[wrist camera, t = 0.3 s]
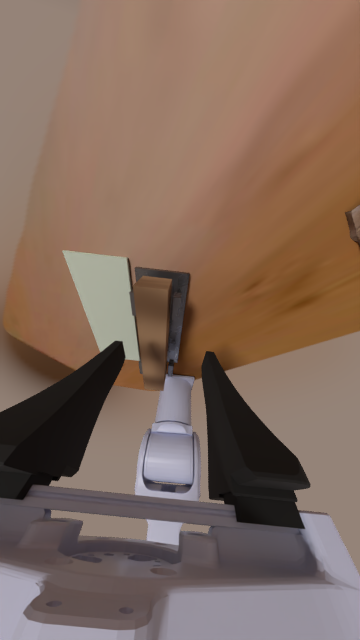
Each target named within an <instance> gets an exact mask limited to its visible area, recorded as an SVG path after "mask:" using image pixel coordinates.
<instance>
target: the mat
mask: <svg viewBox="0 0 360 640" xmlns="http://www.w3.org/2000/svg"><path fill="white" fill-rule="evenodd" d="M63 254H64V256H65V259H66V262H67V264H68V267H69V270H70V272H71V275H72V278H73V280H74V283H75V286H76V288H77V291H78V294H79V296H80V299H81V302H82V304H83V307H84V310H85V312H86V315H87V318H88V320H89V323H90V326H91V328H92V331H93V334H94V336H95V339H96V342H97V344H98V347H99V350H100V352H102V351H103V350H104V349H105V348H107V347H108V346H109V345H110V344H112V343H113V342H114V341H123V346H124V351H125V356H126V358H125V359H129V360H138V361H140V354H139V345H138V337H137V329H136V321H135V316H132V309H131V302H130V294H129V292H130V291H131V290H132V288H131V279H130V271H129V263H128V258H126V257H118V256H109V255H100V254H92V253H83V252H75V251H66V250H64V251H63Z"/></svg>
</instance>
